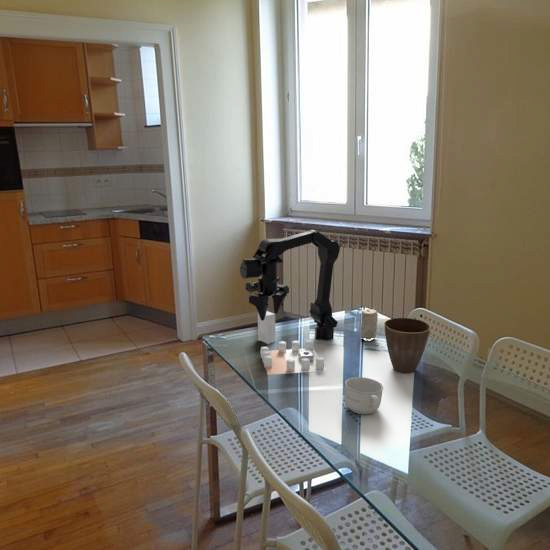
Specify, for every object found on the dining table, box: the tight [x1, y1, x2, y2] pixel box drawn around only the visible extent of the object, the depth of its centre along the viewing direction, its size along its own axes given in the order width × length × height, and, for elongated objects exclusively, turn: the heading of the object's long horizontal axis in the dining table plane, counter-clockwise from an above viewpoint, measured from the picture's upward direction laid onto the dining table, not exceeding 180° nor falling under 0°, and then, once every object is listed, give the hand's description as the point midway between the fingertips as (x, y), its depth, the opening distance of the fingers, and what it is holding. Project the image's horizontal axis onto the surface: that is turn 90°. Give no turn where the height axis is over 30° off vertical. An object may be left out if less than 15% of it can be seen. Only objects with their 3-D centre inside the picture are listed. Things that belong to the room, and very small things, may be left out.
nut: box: [298, 351, 314, 362], centre depth 180 cm, size 4×4×2 cm
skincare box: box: [257, 310, 277, 345], centre depth 196 cm, size 6×4×12 cm
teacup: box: [344, 376, 384, 415], centre depth 146 cm, size 14×11×8 cm
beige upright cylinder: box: [359, 308, 379, 339], centre depth 201 cm, size 6×8×12 cm
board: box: [259, 339, 328, 376], centre depth 179 cm, size 20×20×4 cm
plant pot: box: [383, 317, 431, 374], centre depth 174 cm, size 15×15×16 cm
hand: (269, 316), depth 187 cm, fingers open, 9 cm apart
